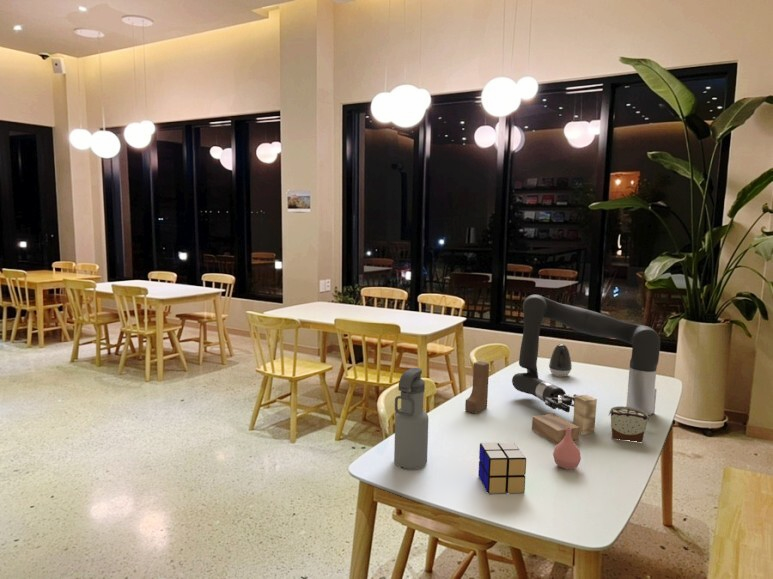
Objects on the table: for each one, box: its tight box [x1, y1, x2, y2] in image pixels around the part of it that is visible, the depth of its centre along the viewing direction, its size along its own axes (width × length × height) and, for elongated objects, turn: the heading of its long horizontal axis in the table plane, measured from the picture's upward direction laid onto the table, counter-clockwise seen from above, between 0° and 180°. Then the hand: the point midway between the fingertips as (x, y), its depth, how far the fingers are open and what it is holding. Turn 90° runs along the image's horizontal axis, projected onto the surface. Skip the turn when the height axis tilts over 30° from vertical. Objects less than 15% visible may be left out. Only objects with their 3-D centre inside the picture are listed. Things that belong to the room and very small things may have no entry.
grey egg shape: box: [548, 343, 573, 378], centre depth 244 cm, size 10×10×15 cm
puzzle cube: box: [477, 441, 527, 494], centre depth 139 cm, size 10×10×10 cm
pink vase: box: [552, 427, 582, 470], centre depth 149 cm, size 8×8×12 cm
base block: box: [531, 413, 580, 445], centre depth 173 cm, size 9×13×5 cm
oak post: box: [572, 394, 598, 435], centre depth 177 cm, size 5×5×12 cm
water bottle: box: [393, 367, 429, 470], centre depth 149 cm, size 10×10×28 cm
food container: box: [608, 405, 651, 443], centre depth 172 cm, size 12×6×10 cm, turn 71°
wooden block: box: [464, 360, 490, 414], centre depth 195 cm, size 9×4×18 cm, turn 138°
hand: (579, 408), depth 180 cm, fingers open, 8 cm apart
